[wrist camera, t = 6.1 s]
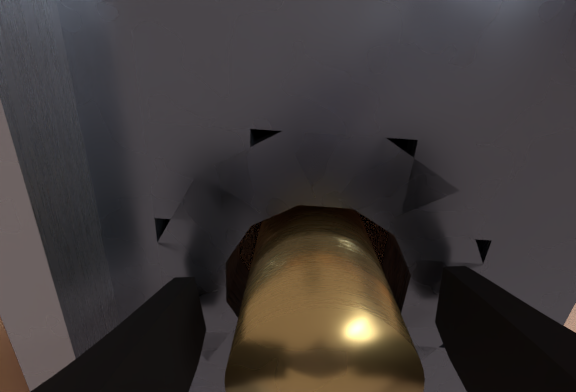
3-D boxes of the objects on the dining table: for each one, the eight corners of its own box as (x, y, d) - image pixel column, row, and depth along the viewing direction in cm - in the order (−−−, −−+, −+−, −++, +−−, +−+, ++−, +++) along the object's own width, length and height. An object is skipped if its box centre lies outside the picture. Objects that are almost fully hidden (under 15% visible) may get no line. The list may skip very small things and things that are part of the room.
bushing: (366, 186, 11) (437, 309, 5) (362, 279, 12) (413, 449, 7) (254, 191, 11) (211, 313, 6) (263, 282, 13) (236, 449, 7)
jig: (618, 22, 9) (910, -18, 5) (462, 398, 15) (525, 525, 11) (57, -14, 9) (-157, -87, 5) (133, 375, 15) (70, 494, 11)
